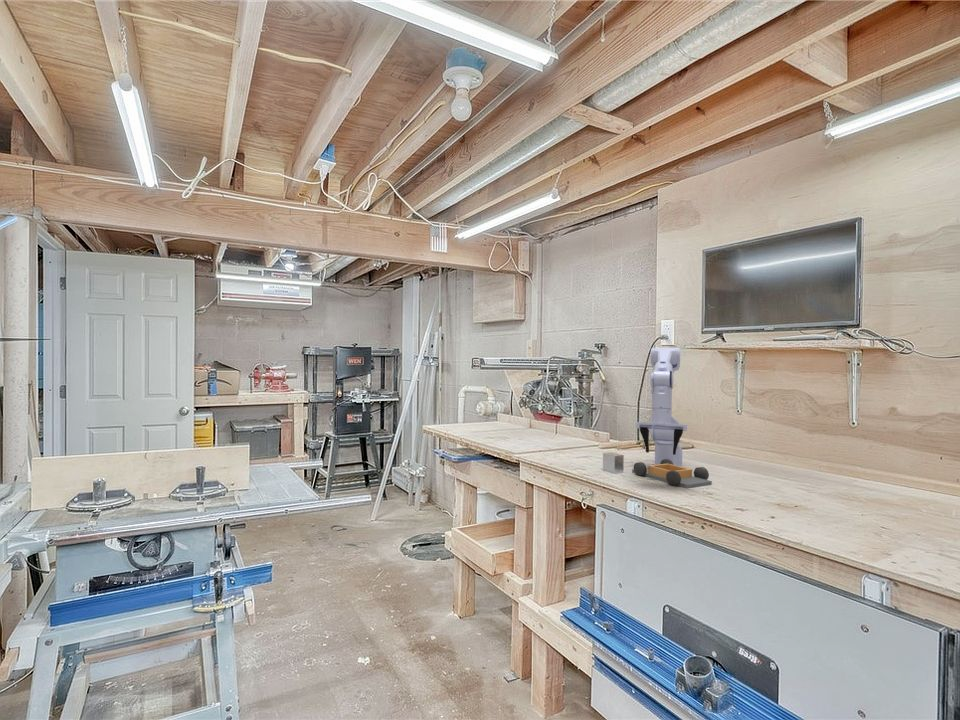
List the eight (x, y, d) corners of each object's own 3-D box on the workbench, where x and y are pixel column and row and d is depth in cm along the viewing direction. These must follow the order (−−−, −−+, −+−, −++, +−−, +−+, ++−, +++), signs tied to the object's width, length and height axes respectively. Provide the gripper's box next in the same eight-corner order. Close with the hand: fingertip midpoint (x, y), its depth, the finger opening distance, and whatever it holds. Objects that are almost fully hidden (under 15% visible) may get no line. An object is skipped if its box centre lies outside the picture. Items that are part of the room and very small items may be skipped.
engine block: (611, 469, 173) (611, 452, 173) (623, 472, 168) (623, 455, 168) (602, 470, 172) (602, 453, 172) (614, 473, 166) (614, 456, 166)
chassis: (658, 469, 173) (658, 456, 173) (715, 483, 153) (715, 469, 153) (628, 472, 167) (628, 460, 167) (683, 488, 147) (683, 474, 147)
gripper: (635, 406, 149) (634, 451, 147) (686, 409, 144) (686, 455, 141) (637, 408, 156) (636, 451, 154) (686, 411, 150) (686, 455, 148)
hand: (660, 453), depth 148 cm, fingers open, 7 cm apart
